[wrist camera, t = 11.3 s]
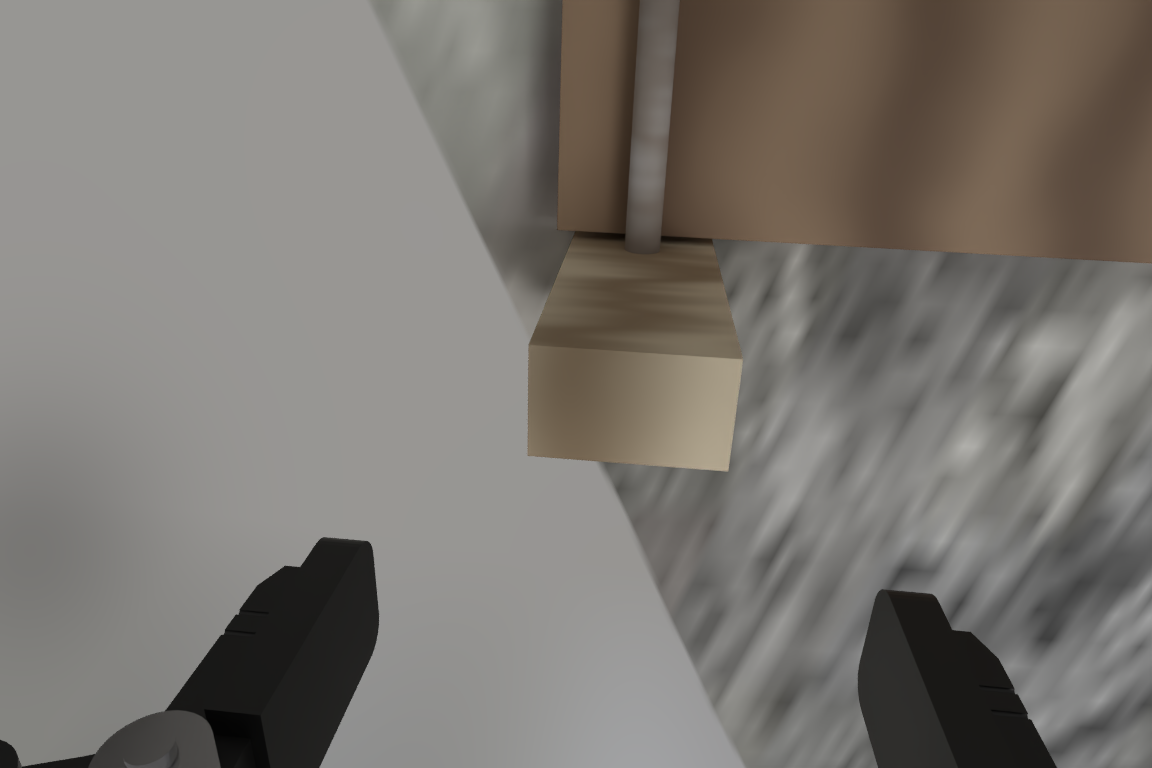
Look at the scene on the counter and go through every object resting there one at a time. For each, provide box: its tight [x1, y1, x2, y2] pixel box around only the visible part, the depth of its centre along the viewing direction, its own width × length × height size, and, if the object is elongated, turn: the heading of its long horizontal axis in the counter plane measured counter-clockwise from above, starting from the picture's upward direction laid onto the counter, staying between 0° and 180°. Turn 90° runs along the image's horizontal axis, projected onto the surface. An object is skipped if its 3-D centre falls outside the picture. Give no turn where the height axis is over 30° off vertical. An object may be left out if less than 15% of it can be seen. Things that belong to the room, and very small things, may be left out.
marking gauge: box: [528, 0, 743, 471], centre depth 22 cm, size 5×13×12 cm, turn 178°
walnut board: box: [557, 0, 1152, 263], centre depth 25 cm, size 24×12×2 cm, turn 88°
